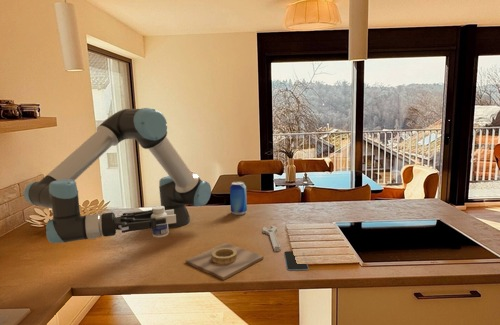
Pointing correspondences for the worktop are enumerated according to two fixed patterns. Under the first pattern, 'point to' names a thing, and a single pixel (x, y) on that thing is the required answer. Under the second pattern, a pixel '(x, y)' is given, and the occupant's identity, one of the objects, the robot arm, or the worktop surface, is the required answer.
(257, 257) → the socket plate
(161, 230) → the pill bottle
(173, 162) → the robot arm
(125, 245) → the worktop surface
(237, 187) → the beer can
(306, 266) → the smartphone
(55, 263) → the worktop surface
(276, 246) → the adjustable wrench
